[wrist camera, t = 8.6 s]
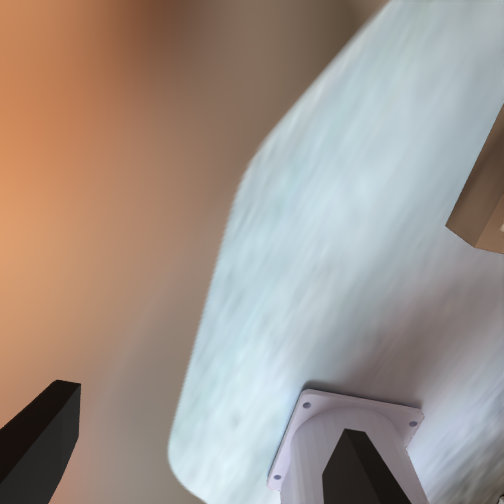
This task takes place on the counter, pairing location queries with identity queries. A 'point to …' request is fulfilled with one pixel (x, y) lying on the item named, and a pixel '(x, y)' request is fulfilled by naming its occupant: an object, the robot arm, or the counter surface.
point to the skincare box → (501, 500)
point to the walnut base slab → (483, 196)
